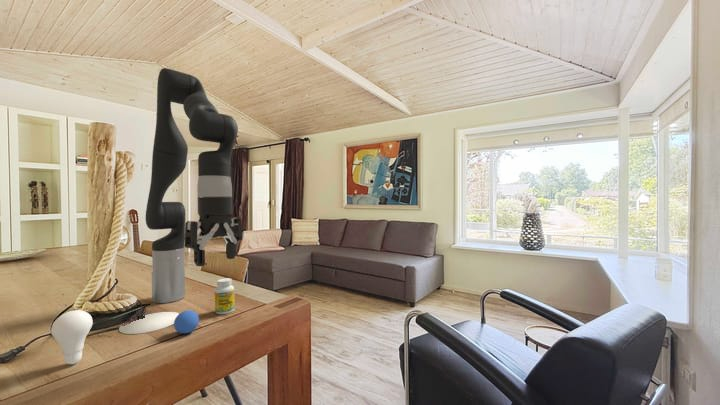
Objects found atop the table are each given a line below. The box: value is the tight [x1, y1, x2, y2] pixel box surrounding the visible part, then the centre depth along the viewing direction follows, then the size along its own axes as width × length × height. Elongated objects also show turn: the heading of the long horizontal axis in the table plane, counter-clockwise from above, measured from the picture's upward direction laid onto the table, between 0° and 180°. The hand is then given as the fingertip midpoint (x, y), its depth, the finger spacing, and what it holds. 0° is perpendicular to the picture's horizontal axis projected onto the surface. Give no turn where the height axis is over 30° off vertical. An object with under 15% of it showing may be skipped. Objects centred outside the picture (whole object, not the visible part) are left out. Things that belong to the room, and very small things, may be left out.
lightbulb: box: [50, 309, 94, 366], centre depth 60 cm, size 6×6×11 cm
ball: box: [173, 309, 200, 335], centre depth 74 cm, size 6×6×6 cm
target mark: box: [118, 311, 180, 335], centre depth 81 cm, size 14×14×1 cm
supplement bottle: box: [214, 277, 236, 315], centre depth 88 cm, size 5×5×10 cm
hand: (216, 262), depth 71 cm, fingers open, 8 cm apart
